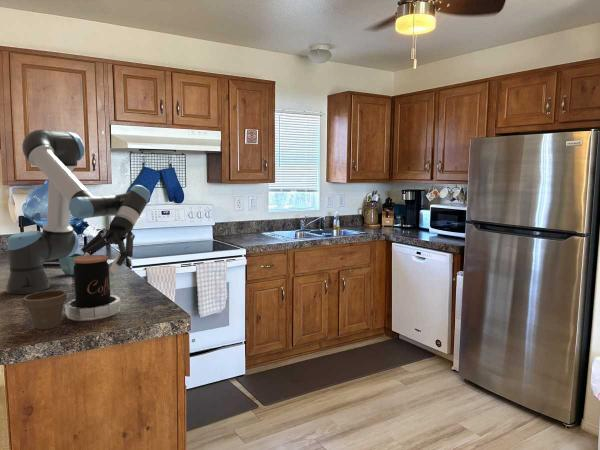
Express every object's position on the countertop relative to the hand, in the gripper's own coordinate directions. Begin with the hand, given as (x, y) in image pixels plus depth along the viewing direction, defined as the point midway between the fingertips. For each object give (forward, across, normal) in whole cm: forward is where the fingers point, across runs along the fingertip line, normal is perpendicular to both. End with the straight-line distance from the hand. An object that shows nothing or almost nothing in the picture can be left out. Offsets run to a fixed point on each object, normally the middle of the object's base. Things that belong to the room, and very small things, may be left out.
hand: (95, 271), depth 154 cm
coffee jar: (+10, 0, -9) cm, 13 cm away
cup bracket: (+11, 0, -9) cm, 14 cm away
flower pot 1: (+22, +4, +2) cm, 22 cm away
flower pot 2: (-21, +57, -42) cm, 74 cm away
